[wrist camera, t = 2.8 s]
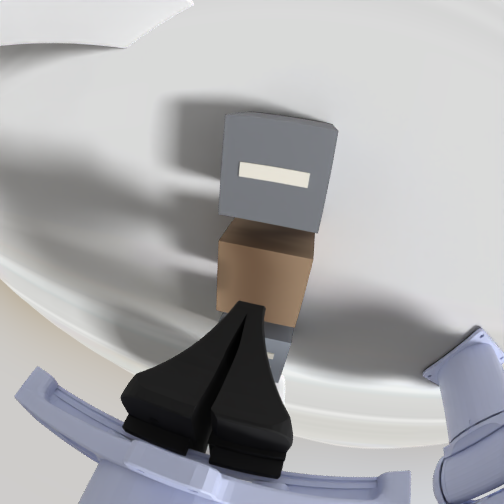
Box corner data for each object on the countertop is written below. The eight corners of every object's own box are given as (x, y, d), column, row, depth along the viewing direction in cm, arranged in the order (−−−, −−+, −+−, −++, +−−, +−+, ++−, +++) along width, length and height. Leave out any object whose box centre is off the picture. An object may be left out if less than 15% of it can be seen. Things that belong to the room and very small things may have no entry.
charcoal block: (332, 124, 15) (338, 130, 11) (318, 199, 18) (317, 234, 13) (248, 111, 16) (221, 114, 11) (240, 185, 18) (215, 214, 14)
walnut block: (315, 220, 18) (313, 259, 14) (301, 280, 21) (294, 327, 17) (242, 207, 19) (218, 240, 15) (236, 267, 22) (216, 310, 17)
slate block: (298, 296, 22) (290, 344, 17) (287, 338, 24) (278, 383, 20) (234, 282, 22) (214, 326, 18) (231, 325, 25) (214, 368, 21)
